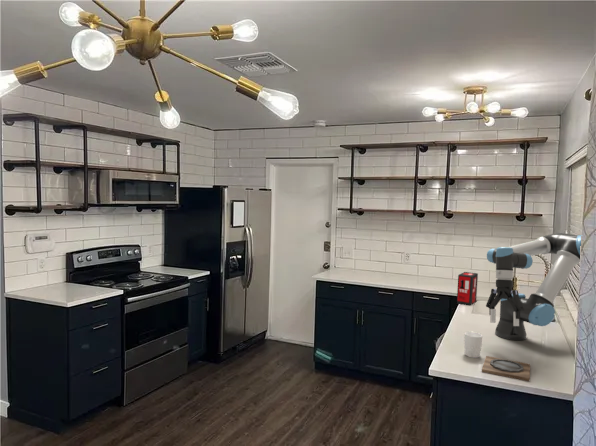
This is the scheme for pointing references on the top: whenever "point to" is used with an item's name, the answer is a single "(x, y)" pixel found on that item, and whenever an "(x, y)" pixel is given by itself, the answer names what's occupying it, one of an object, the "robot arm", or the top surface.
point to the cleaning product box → (467, 288)
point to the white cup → (472, 344)
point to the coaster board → (506, 368)
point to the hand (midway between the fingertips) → (504, 324)
